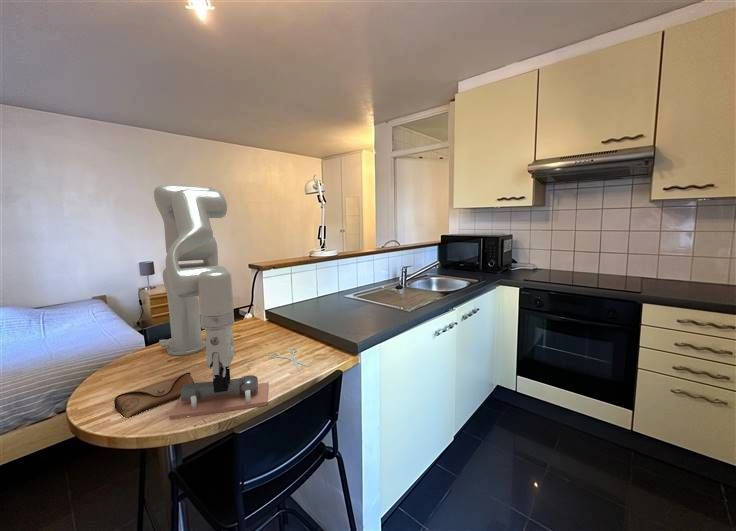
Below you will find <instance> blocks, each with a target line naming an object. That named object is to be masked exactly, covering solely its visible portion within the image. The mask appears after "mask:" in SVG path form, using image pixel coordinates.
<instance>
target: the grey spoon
mask: <svg viewBox="0 0 736 531" xmlns="http://www.w3.org/2000/svg"><path fill="white" fill-rule="evenodd" d="M227 381H228V390H227V391H225V392H217V393H215V392H214V385H213V380H212V381H204V382H203V381H202V382H194V383H192V384H184V385H183V387H182V389H181V401H189V400H191V397H192V396H196V398H197V399H206V398H214V397H222V396H230V395H238V394H240V395H244V396H245V391H246V390H250V395H252V394H254V393H256V392H257V391H258V384H259V382H258V376H256V375H252V374H251V375H250V374H249V375H244V376H241V377H240V378H230V379H228V380H227Z"/></svg>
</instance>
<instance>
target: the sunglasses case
mask: <svg viewBox="0 0 736 531" xmlns="http://www.w3.org/2000/svg"><path fill="white" fill-rule="evenodd" d="M192 383H195V381H194V379H193V376H192V374H191V372H185V373H182V374H181V375H177V376H174V377H172V378H169V379H168V378H167V379H165V380H162V381H159V382H155V383H153V384H150V385H147V386H144V387H141V388H138V389H135V390H132V391H127V392H123V393H120V394H118V395H117V396H115V398H114V400H113V402H114V409H115V408H116V409H117V410H116V411H117V413H118V414H119V413H120V414H121V415H122V416H123V417H125V418H128V419H130V418H129V417H131V418H133V417H135V416H137V415H139V413H140V414H142V413H144V411H145V412H147V411H149V409H150V410H152V409H154V407H155V408H157V406H158V407H160V406H162V404H163V405H165V404H168V403H170V401H171V402H173V401H176V400H179V398H180V396H181V389H182V387H183V385H184V384H192ZM159 405H160V406H159ZM146 410H147V411H146ZM141 412H142V413H141ZM120 414H119V415H120ZM136 414H137V415H136ZM121 415H120V416H121ZM134 415H135V416H134ZM122 416H121V417H122ZM132 416H133V417H132ZM123 417H122V418H123Z"/></svg>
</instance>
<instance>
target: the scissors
mask: <svg viewBox="0 0 736 531" xmlns="http://www.w3.org/2000/svg"><path fill="white" fill-rule="evenodd" d="M291 349H292V350H294V351H292V350H291ZM289 352H290V354H292V355H291V356H290V357H288V356H287V357H285V356H281V354H280V353H272V354H268V353H265V354H264V356H267V355H268V356H267V357H269V358H270V357H271V358H270V359H282V360H283V359H286V360H289V361H291V362H292V364H294V366H295V367H296V368H297V370H299V372H302V370H301V368H300V366H299V364H300V365H303V366H306V367H308V368H312V367H311V366H309V365H307V364H306V363H304V362H301V361H299V360H298V359H296V357H295V353H296V352H298V348H295V347H294V348H293V347H291V348H290V349H288V353H289ZM312 369H313V368H312Z"/></svg>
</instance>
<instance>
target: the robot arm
mask: <svg viewBox="0 0 736 531" xmlns="http://www.w3.org/2000/svg"><path fill="white" fill-rule="evenodd" d="M153 198H154V204H155V205H156V208H157V210H158V212H159V214H160V215H161V218H162V221H163V224H164V226H163V227H164V241H165V242H164V243H165V250H166V257H165V268H164V269H163V271H162V281H163V283H164V288H165V292H166V297H167V298H166V299H167V306H168V313H169V325H170V326H169V327H170V335H171V336H170V337H171V338H168V339H159V341H158V345H159V346H160V348H161V347H168V348H167V350H166V351H167V354H169V355H171V356H187V355H191V354H194V353H198V352H201V351H202V350H204V349H205V350H206V351H205V352H206V362H207V364H206V365H207V368H208V369H210V370H211V369H212V381H213V385H214V392H215V393H217V392H225V391H227V390H228V381H227V380H228V379H231V369H230V365H231V364H232V361H233V359H234V355H235V342H234V335H233V327H232V326H234V324H235V315H234V300H233V299H234V298H233V285H232V284H233V281H232V275H231V274H232V273H230V272H229V271H228V270H227V268H225V267H224V266H222V265H219V260H218V259H219V258H218V257H219V254H218V252H219V251H218V243H217V241H216V238H215V236H214V232H213V227H212V224H211V222H210V219H222V218H224V217H225V216H226V215H227V212H228V204H227V200H226V197H225V196H224V194H223V193H222V192H221V191H220V190H217V189H216V188H213V187H210V186H198V185H183V184H161V185H160V184H159V185H158V186H156V187H155V188H154V190H153ZM190 261H191V262H190ZM192 261H203V262H192ZM179 262H186V263H179ZM187 262H188V263H187ZM202 330H205V339H203V338H202V337H203V336H202Z"/></svg>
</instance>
